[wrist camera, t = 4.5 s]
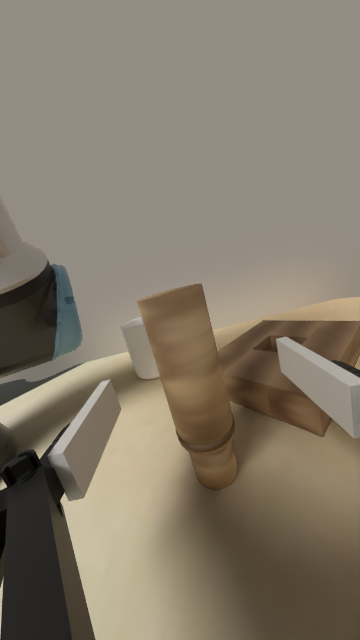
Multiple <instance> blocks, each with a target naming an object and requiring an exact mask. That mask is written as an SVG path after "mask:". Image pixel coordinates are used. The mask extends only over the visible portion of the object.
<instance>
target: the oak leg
mask: <svg viewBox="0 0 360 640" xmlns="http://www.w3.org/2000/svg"><path fill="white" fill-rule="evenodd" d="M137 303H138V307H139V310H140V313H141V316H142V320H143V323H144V326H145V330H146V333H147V336H148V339H149V343H150V346H151V349H152V352H153V356H154V359H155V362H156V365H157V369H158V372H159V375H160V378H161V382H162V385H163V388H164V391H165V395H166V398H167V401H168V405H169V408H170V411H171V414H172V418H173V421H174V424H175V427H176V433H177V436H178V439H179V441H180V443H181V445H182V446H183V448H185V449H186V450H187V451H188V452H189V453H190V456H191V459H192V463H193V466H194V470H195V473H196V476H197V478H198V480H199V482H200V483H201V484H202V485H204V486H205V487H207V488H210V489H222V488H225V487H227V486H228V485H230V484H231V483H232V482H233V481H234V479H235V478H236V475H237V472H238V465H237V460H236V456H235V452H234V448H233V443H232V439H233V436H234V433H235V424H234V419H233V415H232V413H231V408H230V404H229V400H228V395H227V391H226V387H225V382H224V378H223V374H222V369H221V365H220V361H219V356H218V352H217V348H216V343H215V339H214V335H213V330H212V327H211V322H210V317H209V313H208V309H207V305H206V300H205V296H204V291H203V287H202V284H195V285H189V286H185V287H180V288H176V289H173V290H169V291H165V292H162V293H158V294H154V295H152V296H148V297H145V298H142V299H140V300H138V301H137Z"/></svg>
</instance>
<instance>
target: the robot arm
mask: <svg viewBox="0 0 360 640" xmlns="http://www.w3.org/2000/svg"><path fill="white" fill-rule="evenodd" d="M81 343H82V330H81V325H80V321H79V316H78V312H77V307H76V304H75V301H74V296H73V292H72V287H71V284H70V280H69V277H68V274H67V271H66V269H65V267H63V266H62V265H56V264H55V265H54V264H53V265H51V266H50V264H49V262H48V259H47V257H46V255H45V253H44V252H43V251H42V250H40V249H38V248H36V247H34V246H32V245H30V244H28V243H26V242H23V241H22V239H21V238H20V236H19V234H18V232H17V230H16V228H15V226H14V224H13V222H12V220H11V218H10V216H9V214H8V212H7V210H6V208H5V206H4V204H3V202H2V200H1V198H0V378H2V377H5V376H8V375H10V374H13V373H16V372H19V371H22V370H25V369H28V368H31V367H34V366H37V365H40V364H43V363H46V362H49V361H53V360H55V359H56V358H58V357H60V356H62V355H65V354H67V353H70V352H72V351H74V350H76V349H77V348H78V347H79V346H80V345H81ZM276 343H277V349H278V356H279V362H280V368H281V372H282V373H283V374H284V375H285V376H287V377H288V378H289V379H290V380H291V381H292V382H293V383H294V384H295V385H296V386H297V387H298V388H300V389H301V390H302V391H303V392H304V393H305V394H306V395H307V396H308V397H309V398H310V399H311V400H312V401H314V402H315V403H316V404H317V405H318V406H319V407H320V408H321V409H322V410H323V411H324V412H325V413H327V414H328V415H329V416H330V417H331V418H332V419H333V420H334V421H335V422H336V423H337V424H338V425H339V426H341V427H342V428H343V429H344V430H345V431H346V432H347V433H348V434H349V435H350V436H351V437H352V438H354V439H356V438H360V370H358V369H356V368H354V367H352V366H351V365H349V364H347V363H344V362H341V361H337V360H332V361H329V360H327V359H325V358H323V357H322V356H320V355H318V354H316V353H314V352H313V351H311V350H309V349H307V348H306V347H304V346H302V345H300V344H298V343H297V342H295V341H293V340H291V339H289V338H288V337H282V338H278V339H276ZM120 411H121V407H120V404H119V401H118V399H117V396H116V393H115V390H114V388H113V385H112V382H111V380H106V381H102V382H100V384H99V385H98V387H97V388H96V389H95V391H94V392H93V394H92V395H91V396H90V398H89V399H88V400H87V402H86V403H85V405H84V406H83V407H82V409H81V410H80V412H79V413H78V414H77V416H76V417H75V418H74V420H73V421H72V423H69V424H68V425H67V426H66V427H65V428H64V429H62V430H61V432H60V433H59V434H58V436H57V437H56V439H55V440H54V441H53V442H52V445H50V446H49V448H48V449H47V450H46V452H45V453H44V454H43V456H42V457H41V458H40V460H39V458H38V456H37V454H36V452H35V451H34V450H27V451H24V452H22V453H20V454H18V455H17V456H15V453H16V451H17V442H16V440H15V438H14V437H13V435H12V433H11V431H10V430H9V429H8V428H7V427H6V426H4V425H3V424H1V423H0V475H1V476H2V478H3V480H4V482H5V484H6V485H7V488H5V489H3V490H0V587H1V583H2V580H3V576H4V580H3V599H2V619H1V639H0V640H95V636H94V632H93V628H92V624H91V620H90V616H89V612H88V608H87V603H86V599H85V595H84V591H83V587H82V583H81V579H80V575H79V571H78V567H77V563H76V559H75V554H74V550H73V546H72V542H71V538H70V534H69V530H68V526H67V522H66V518H65V514H64V510H63V506H62V504H61V502H60V500H61V498H62V496H63V494H64V492H65V494H66V496H67V498H68V500H69V501H72V500H77V499H81V498H84V496H85V494H86V492H87V489H88V487H89V485H90V482H91V480H92V478H93V475H94V473H95V470H96V468H97V466H98V463H99V461H100V459H101V456H102V454H103V452H104V449H105V447H106V444H107V442H108V440H109V437H110V435H111V433H112V430H113V428H114V425H115V423H116V421H117V418H118V416H119V414H120ZM14 456H15V457H14ZM13 457H14V458H13Z"/></svg>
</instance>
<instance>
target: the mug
mask: <svg viewBox="0 0 360 640" xmlns="http://www.w3.org/2000/svg"><path fill="white" fill-rule="evenodd" d="M121 330H122V332H123V336H124V338H125V342H126V345H127V347H128V351H129V354H130V357H131V360H132V363H133V366H134V369H135V371H136V374H137V375H138V377H140V378H141V379H146V380H150V379H156V378H159V377H160V375H159V372H158V369H157V365H156V362H155V359H154V356H153V352H152V349H151V346H150V343H149V339H148V336H147V333H146V330H145V326H144V323H143V320H142V317H139V318H136V319H134V320H131V321H128V322H126V323H124V324H123V325H121Z"/></svg>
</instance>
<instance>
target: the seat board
mask: <svg viewBox="0 0 360 640" xmlns="http://www.w3.org/2000/svg"><path fill="white" fill-rule="evenodd" d="M282 337H288V338H289V339H291V340H293V341H295V342H297V343H298V344H300V345H302V346H304V347H306V348H307V349H309V350H311V351H313V352H314V353H316V354H318V355H320V356H322V357H323V358H325V359H327V360H329V361H332V360H337V361H341V362H344V363H347V364H349V365H351V366H352V367H354V366H355V364H356V362H357V360H358V357H359V355H360V321H266V320H263V321H262V322H260V323H259V324H257V325H256V326H255V327H253V328H252V329H250V330H249V331H247V332H246V333H244V334H243V335H241V336H240V337H238V338H237V339H235V340H234V341H233V342H231V343H230V344H228V345H227V346H225V347H224V348H222V349H221V350H219V351H218V356H219V361H220V365H221V369H222V374H223V378H224V382H225V387H226V391H227V395H228V400H229V401H232V402H234V403H237V404H239V405H242V406H245V407H247V408H250V409H252V410H255V411H258V412H260V413H263V414H265V415H268V416H271V417H273V418H276V419H278V420H281V421H284V422H286V423H289V424H291V425H294V426H296V427H299V428H302V429H304V430H307V431H309V432H312V433H315V434H317V435H320V436H322V437H323V436H324V433H325V431H326V429H327V427H328V425H329V422H330V420H331V417H330V416H329V415H328V414H327V413H325V412H324V411H323V410H322V409H321V408H320V407H319V406H318V405H317V404H316V403H315V402H314V401H312V400H311V399H310V398H309V397H308V396H307V395H306V394H305V393H304V392H303V391H302V390H301V389H300V388H298V387H297V386H296V385H295V384H294V383H293V382H292V381H291V380H290V379H289V378H288V377H287V376H285V375H284V374H283V373H282V372H281V368H280V362H279V356H278V349H277V343H276V339H278V338H282Z"/></svg>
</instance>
